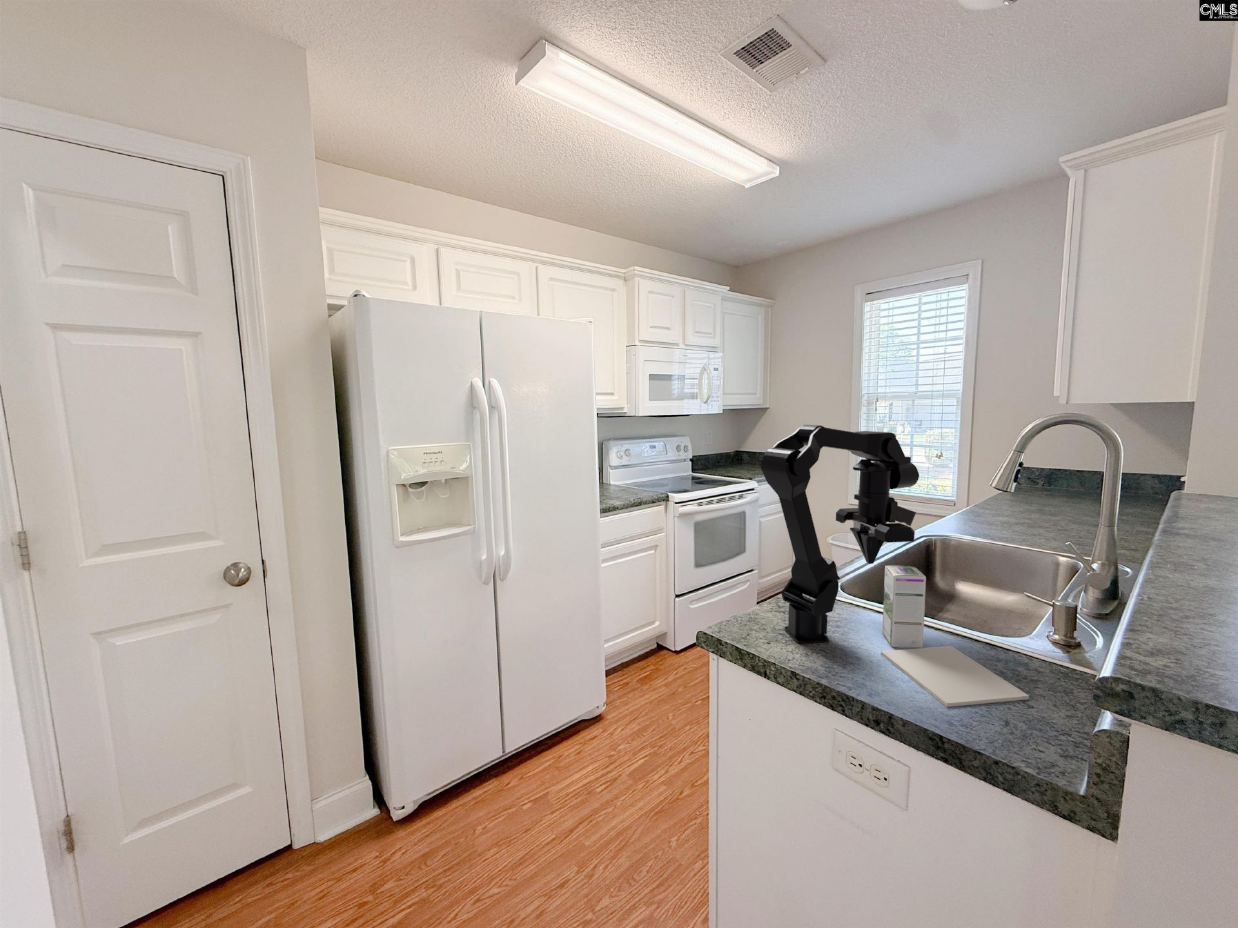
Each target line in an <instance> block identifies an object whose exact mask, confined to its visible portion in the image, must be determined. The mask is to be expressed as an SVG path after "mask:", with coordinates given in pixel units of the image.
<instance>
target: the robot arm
mask: <svg viewBox="0 0 1238 928" xmlns="http://www.w3.org/2000/svg"><path fill="white" fill-rule="evenodd" d="M805 446H806V447H805ZM804 447H805V448H804ZM802 448H804V449H803V450H801V449H802ZM822 448H829V449H836V450H838V449H839V450H843V451H844V450H845V451H848V452H850V453H851V454H852V455H854V456H856V457H859V458H861V459H860V460H859V461H858V462H857V463H856V464H854V466H853V467H852V469H853V471H858V472H859V482H858V493H857V494H853V497H854V498H853V499H854V500H857V501H858V502H857V507H851V508H850V507H847V508H839V509H838V510H837V511H836V512H835V521H837V522H838V523H840V524H845V523H846V522H847V521H852V522H853V526H852V527H850V528H849V530H850V531H851V532H852V535H853V536H854V538H855V540H856V542H857V544H858V546H859V548H860V550H861V553H862V555H863V558H864V560H865V562H866V563H867V564H869V565H870V564H871V565H873V564H875V561H876V559H877V557H878V555H879V553H880V550H881V548H882V546H883V545H884V543H892V544H893V543H909V542H912V543H913V542H915V535H916V533H915V532H916V531H915V530H914V529H913V528H912V527H911V526H912V524H913V521H914V519H915V516H916V515H917V512H916V511H913V510H911V509H909V508H905V507H902V506H899V503H898V501H897V500H895V497H893V496H890V490H897V489H904V488H911V487H913V486H914V485H916V484H917V483H918V481H919V478H920V472H919V470H918V468H917V467H916V464H914V463H913V462H911V461H912V457H911V456H906V454H905V453H904V451H903V448H902V446H901V444H900V442H899V440H898V439H897V435H896V433H894V432H889V431H870V430H861V431H859V430H858V431H847V430H842V429H836V428H830V427H825V426H823V425H820V424H819V425H818V424H803V425H800V427H797V429H796V430H795V431H794V432H793V433H790V435H787V436H786V437H784V438H783V439H781V440H779V441H777V442H776V443H775V444H774V445H773V446H772V447H771V448H769V449H767V450H766V451H765V453H763V456H762V458H761V459H760V462H759V463H760V470H761V472H762V475H763V476H764V479H765V480H766V482H767V484H768V485H769V487H771V489H772V490H773V491H774V493H775V494H776V495H777V497H778V499H779V502H780V507H781V511H782V514H783V518H784V522H785V525H786V529H787V533H788V536H789V540H790V545H791V547H792V548H791V549H792V550H793V551H792V552H793V555H794V562H793V564H792V566H791V569H790V573H791V578H790V579H789V580H788V582H787V583H786V584H785V586H784V588H783V589H782V591H781V594H780V595H781V598H782V601H784V602H787V604H788V620H787V625H785V626H784V628H783V629H784V630H785V632H787V634H788V635H789V636H790V637H791V638H792V639H793V640H794V641H795V642H796V643H797V644H811V643H823V642H825V643H826V642H829V641H830V638H829V637H828V636H827V633H828V618H829V617H828V616H829V615H828V614H829V613H832V612H833V611H834V607H835V603H836V601H837V598H838V597H837V596H838V593H839V590H840V589H839V588H840V585H839V580H840V579H841V578H840V576H839V574H838V571H837V564H836V561H834V560H833V559H829V558H826V557H824V556H823V555H822V553H821V551H822V550H821V547H820V544H819V539H818V537H817V536H818V535H817V532H816V528H815V524H814V519H813V517H812V516H813V515H812V512H811V508H810V504H809V501H808V496H807V491H806V490H807V488H808V485H809V483H810V480H811V468H813V466H814V465H815V464H816V463H817V462H818V461H819V459H820V454H821V453H820V452H821V451H822ZM903 523H904V524H903Z"/></svg>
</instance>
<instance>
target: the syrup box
mask: <svg viewBox="0 0 1238 928" xmlns="http://www.w3.org/2000/svg"><path fill="white" fill-rule="evenodd" d="M884 566H885V567H884V583H883V584H884V586H883V607H882V608H883V610H882V612H883V613H882V635H883V637H884V638H885V640H886V641H887V642H888V644H889V646H890V647H892V648H899V649H900V648H901V649H917V648H924V647H923V645H924V635H925V634H924V629H925V627H924V626H925V608H926V605H925V604H926V586H927V584H926V583H927V577H926V575H925V574H923V573H922V572H921V571H920V570H919V569H918V568H917V567H915V566H910V565H902V564H901V565H897V564H895V565H884Z"/></svg>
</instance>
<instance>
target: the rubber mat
mask: <svg viewBox="0 0 1238 928" xmlns="http://www.w3.org/2000/svg"><path fill="white" fill-rule="evenodd" d="M880 655H881V656H883V658H884V659H886V660H887V661H888V662H890V663H891V665H893V666H895V667H896V668H897V669H898V670H900V671H901V672H902V673H903V674H904V675H906V676H907V677H909V678H910V679H911V680H912V681H913V682H914V683H916V684H917V685H918V686H920V687H921V688H922V689H923V690H924V691H926V692H927V693H928V694H930V695H931V696H932V697H933V698H935V700H937V701H939V702H940V703H941V704H942V705H943V706H944V707H946V708H949V707H950V708H951V707H960V706H970V705H984V704H991V703H1004V702H1012V701H1014V702H1016V701H1024V700H1025V701H1026V700H1029V698H1030V695H1029V694H1027V693H1025V692H1024V691H1022V690H1021V689H1019V688H1018V687H1016V686H1014V685H1013V684H1011V683H1010V682H1008V681H1006V680H1005V679H1003V678H1002V677H1001V676H999V675H997V674H996V673H994V672H992V671H991V670H989V669H988V668H986V667H984V666H983V665H981V664H980V663H978V662H977V661H975V660H973V659H972V658H970V657H969V656H967V655H965V654H964V653H962V652H961V651H959V650H957V649H956V648H955V647H953V646H951V645H945V646H931V647H923V648H917V649H910V648H904V649H897V650H894V649H893V650H882V651H880Z"/></svg>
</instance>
